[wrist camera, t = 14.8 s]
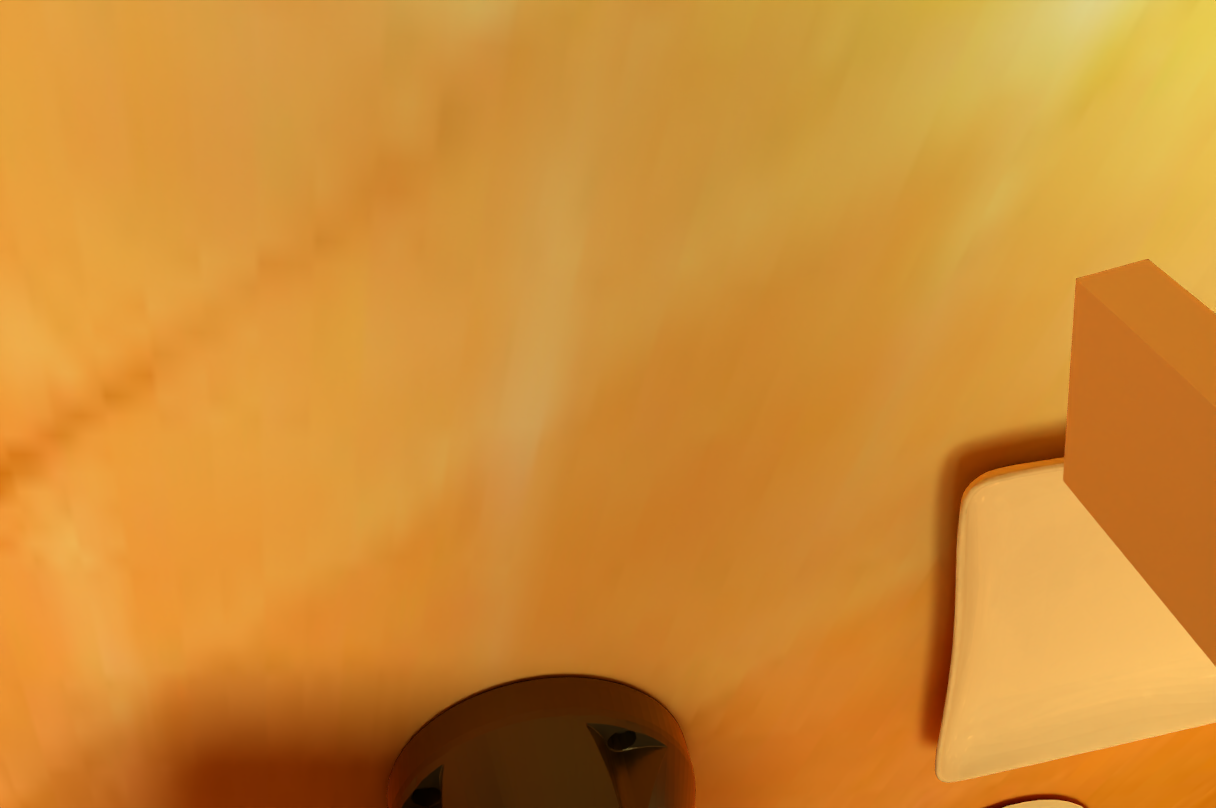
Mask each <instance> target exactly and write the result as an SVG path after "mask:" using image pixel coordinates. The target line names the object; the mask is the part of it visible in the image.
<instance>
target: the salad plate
mask: <svg viewBox="0 0 1216 808" xmlns="http://www.w3.org/2000/svg"><path fill="white" fill-rule="evenodd" d="M1063 471H1064V457H1061V458H1055V459H1049V460H1042V461H1036V462H1029V463H1023V464H1017V465H1011V466H1007V467H1002V468H998V469H994V470H991V471H988V472H986V473H984V474H982V475H980V476H979V477H977V478H976V479H975V480H974V481H972V482H971V483H970V484H969V486H968V487H967V488H966V489H965V491H964V493H963V495H962V499H961V504H960V513H959V522H958V531H957V549H956V586H955V617H954V633H953V646H952V656H951V665H950V672H949V680H948V687H947V693H946V699H945V705H944V711H943V717H942V723H941V728H940V734H939V739H938V744H937V749H936V759H935V772H936V775H937V778H938V779H939V780H941V781H942V782H947V783H950V782H957V781H962V780H967V779H972V778H977V777H982V776H986V775H990V774H994V773H999V772H1003V771H1008V770H1012V769H1016V768H1021V767H1025V766H1030V765H1034V764H1039V763H1043V762H1047V761H1051V760H1056V759H1060V758H1064V757H1069V756H1073V755H1077V754H1081V753H1086V752H1091V751H1095V750H1100V749H1104V748H1109V747H1113V746H1117V745H1121V744H1126V743H1130V742H1134V741H1138V740H1142V739H1147V738H1151V737H1156V736H1160V735H1164V734H1168V733H1172V732H1177V731H1181V730H1186V729H1190V728H1194V727H1198V726H1203V725H1207V724H1211V723H1215V722H1216V667H1215V665H1214V664H1213V663H1212V662H1211V661H1210V659H1209V658H1208V657H1207V656H1206V654H1205V653H1204V652H1203V651H1202V650H1201V648H1200V647H1199V646H1198V645H1197V643H1196V642H1195V641H1194V640H1193V639H1192V637H1191V636H1190V635H1189V634H1188V633H1187V631H1186V630H1185V629H1184V628H1183V626H1182V625H1181V624H1180V623H1179V622H1178V620H1177V619H1176V618H1175V617H1174V615H1173V614H1172V613H1171V612H1170V611H1169V609H1168V608H1167V607H1166V606H1165V604H1164V603H1163V602H1162V601H1161V600H1160V598H1159V597H1158V596H1157V595H1156V594H1155V592H1154V591H1153V590H1152V589H1151V587H1150V586H1149V585H1148V584H1147V583H1146V581H1145V580H1144V579H1143V578H1142V576H1141V575H1140V574H1139V573H1138V572H1137V570H1136V569H1135V568H1134V567H1133V565H1132V564H1131V563H1130V562H1129V561H1128V559H1127V558H1126V557H1125V556H1124V555H1123V553H1122V552H1121V551H1120V550H1119V548H1118V547H1117V546H1116V545H1115V544H1114V542H1113V541H1112V540H1111V539H1110V537H1109V536H1108V535H1107V534H1106V533H1105V531H1104V530H1103V529H1102V528H1101V526H1100V525H1099V524H1098V523H1097V522H1096V520H1095V519H1094V518H1093V517H1092V516H1091V514H1090V513H1089V512H1088V511H1087V509H1086V508H1085V507H1084V506H1083V505H1082V503H1081V502H1080V501H1079V500H1078V498H1077V497H1076V496H1075V495H1074V494H1073V492H1072V491H1071V490H1070V489H1069V487H1068V486H1067V485H1066V484H1065V483H1064V481H1063Z"/></svg>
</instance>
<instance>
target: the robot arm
mask: <svg viewBox="0 0 1216 808" xmlns="http://www.w3.org/2000/svg"><path fill="white" fill-rule="evenodd" d="M1063 481H1064V483H1065V484H1066V485H1067V486H1068V487H1069V489H1070V490H1071V491H1072V492H1073V494H1074V495H1075V496H1076V497H1077V498H1078V500H1079V501H1080V502H1081V503H1082V505H1083V506H1084V507H1085V508H1086V509H1087V511H1088V512H1089V513H1090V514H1091V516H1092V517H1093V518H1094V519H1095V520H1096V522H1097V523H1098V524H1099V525H1100V526H1101V528H1102V529H1103V530H1104V531H1105V533H1106V534H1107V535H1108V536H1109V537H1110V539H1111V540H1112V541H1113V542H1114V544H1115V545H1116V546H1117V547H1118V548H1119V550H1120V551H1121V552H1122V553H1123V555H1124V556H1125V557H1126V558H1127V559H1128V561H1129V562H1130V563H1131V564H1132V565H1133V567H1134V568H1135V569H1136V570H1137V572H1138V573H1139V574H1140V575H1141V576H1142V578H1143V579H1144V580H1145V581H1146V583H1147V584H1148V585H1149V586H1150V587H1151V589H1152V590H1153V591H1154V592H1155V594H1156V595H1157V596H1158V597H1159V598H1160V600H1161V601H1162V602H1163V603H1164V604H1165V606H1166V607H1167V608H1168V609H1169V611H1170V612H1171V613H1172V614H1173V615H1174V617H1175V618H1176V619H1177V620H1178V622H1179V623H1180V624H1181V625H1182V626H1183V628H1184V629H1185V630H1186V631H1187V633H1188V634H1189V635H1190V636H1191V637H1192V639H1193V640H1194V641H1195V642H1196V643H1197V645H1198V646H1199V647H1200V648H1201V650H1202V651H1203V652H1204V653H1205V654H1206V656H1207V657H1208V658H1209V659H1210V661H1211V662H1212V663H1213V664H1214V665H1215V667H1216V314H1215V313H1214V312H1213V311H1211V310H1210V309H1209V308H1208V307H1206V306H1205V305H1204V304H1203V303H1201V302H1200V301H1199V300H1198V299H1197V298H1195V297H1194V296H1193V295H1192V294H1190V293H1189V292H1188V291H1187V290H1185V289H1184V288H1183V287H1182V286H1181V285H1179V284H1178V283H1177V282H1176V281H1174V280H1173V279H1172V278H1171V277H1169V276H1168V275H1167V274H1166V273H1165V272H1163V271H1162V270H1161V269H1160V268H1158V267H1157V266H1156V265H1155V264H1154V263H1152V262H1151V261H1150V260H1149V259H1146V260H1142V261H1139V262H1135V263H1131V264H1128V265H1124V266H1120V267H1117V268H1113V269H1109V270H1106V271H1102V272H1099V273H1095V274H1091V275H1088V276H1084V277H1080V278H1077V279H1076V288H1075V303H1074V318H1073V334H1072V349H1071V364H1070V379H1069V394H1068V410H1067V425H1066V440H1065V455H1064V471H1063ZM695 792H696V788H695V777H694V771H693V767H692V763H691V760H690V756H689V753H688V750H687V746H686V743H685V740H684V737H683V734H682V731H681V729H680V727H679V725H678V724H677V722H676V720H675V719H674V718H673V716H672V715H671V714H670V713H669V712H668V711H667V710H666V709H665V708H664V707H663V706H662V705H661V704H659V703H658V702H657V701H655V700H654V699H652V698H651V697H649V696H647V695H645V694H644V693H641V692H639V691H637V690H635V689H632V688H630V687H627V686H624V685H621V684H617V683H613V682H609V681H604V680H598V679H589V678H575V677H561V678H546V679H537V680H531V681H525V682H520V683H515V684H511V685H507V686H503V687H500V688H497V689H494V690H491V691H488V692H485V693H482V694H480V695H477V696H475V697H473V698H470V699H468V700H466V701H464V702H462V703H460V704H458V705H456V706H454V707H453V708H451V709H449V710H447V711H446V712H444V713H443V714H441V715H440V716H438V717H437V718H435V719H434V720H433V721H431V722H430V723H429V724H428V725H426V726H425V727H424V728H423V729H422V730H421V731H420V732H419V733H418V734H416V735H415V736H414V738H413V739H412V740H411V741H410V742H409V743H408V744H407V746H406V747H405V748H404V750H403V751H402V752H401V754H400V756H399V757H398V759H397V761H396V763H395V764H394V767H393V769H392V772H391V774H390V778H389V782H388V788H387V808H695Z"/></svg>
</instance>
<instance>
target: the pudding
mask: <svg viewBox="0 0 1216 808" xmlns="http://www.w3.org/2000/svg"><path fill="white" fill-rule="evenodd" d="M1003 808H1083V807H1082V806H1080V805H1077V804H1074V803H1071V802H1068V801H1061V800H1036V801H1028V802H1022V803H1018V804H1014V805H1010V806H1006V807H1003Z"/></svg>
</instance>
